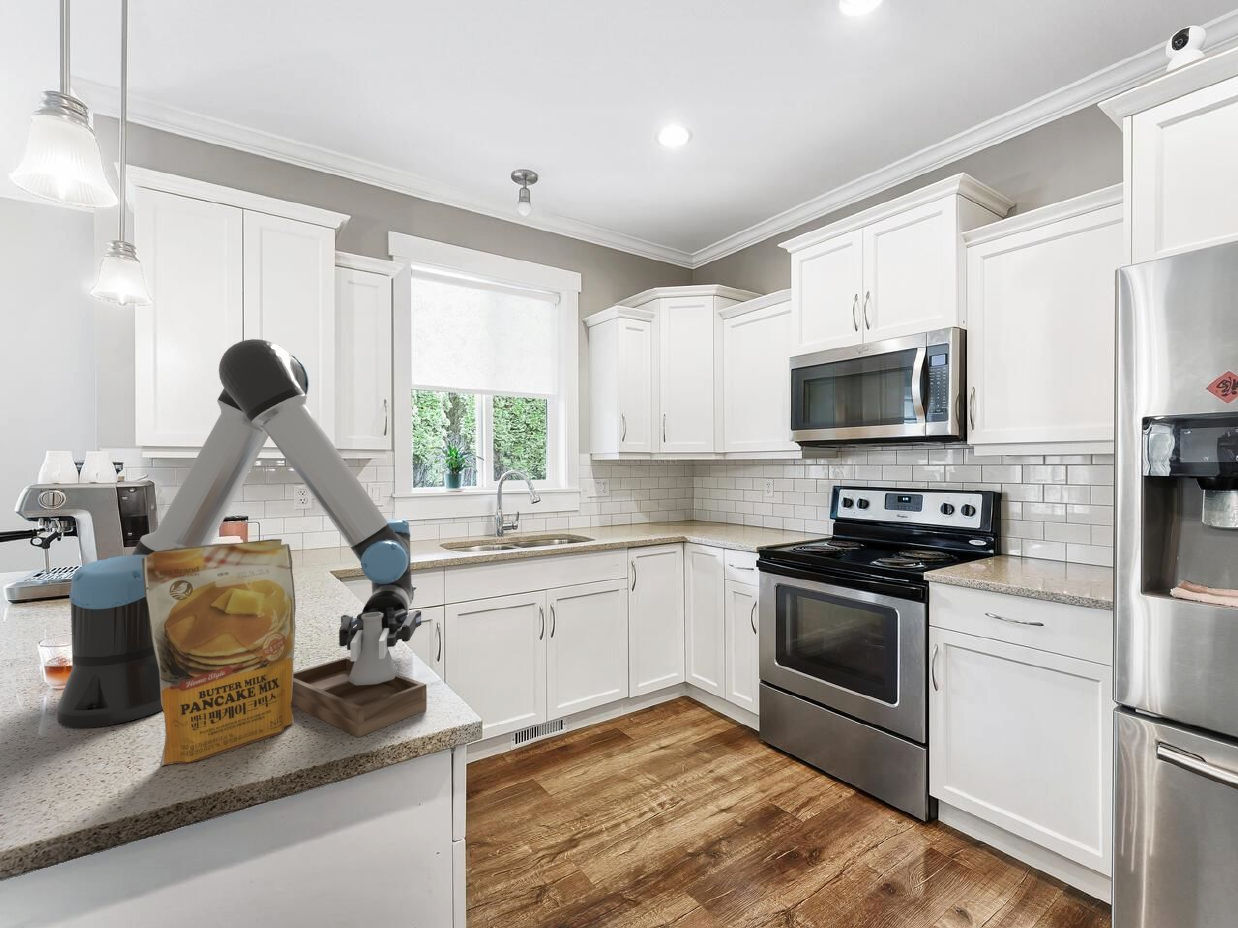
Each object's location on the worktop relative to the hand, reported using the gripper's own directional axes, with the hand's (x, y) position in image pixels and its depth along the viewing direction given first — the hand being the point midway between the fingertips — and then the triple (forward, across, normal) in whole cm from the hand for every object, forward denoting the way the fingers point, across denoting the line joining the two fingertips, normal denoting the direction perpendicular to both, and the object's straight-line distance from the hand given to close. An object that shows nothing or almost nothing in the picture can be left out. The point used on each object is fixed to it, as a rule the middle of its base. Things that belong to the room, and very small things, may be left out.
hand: (367, 650), depth 89 cm
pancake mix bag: (0, +18, -12) cm, 22 cm away
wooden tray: (-10, +4, -12) cm, 15 cm away
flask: (-5, 0, -6) cm, 8 cm away
